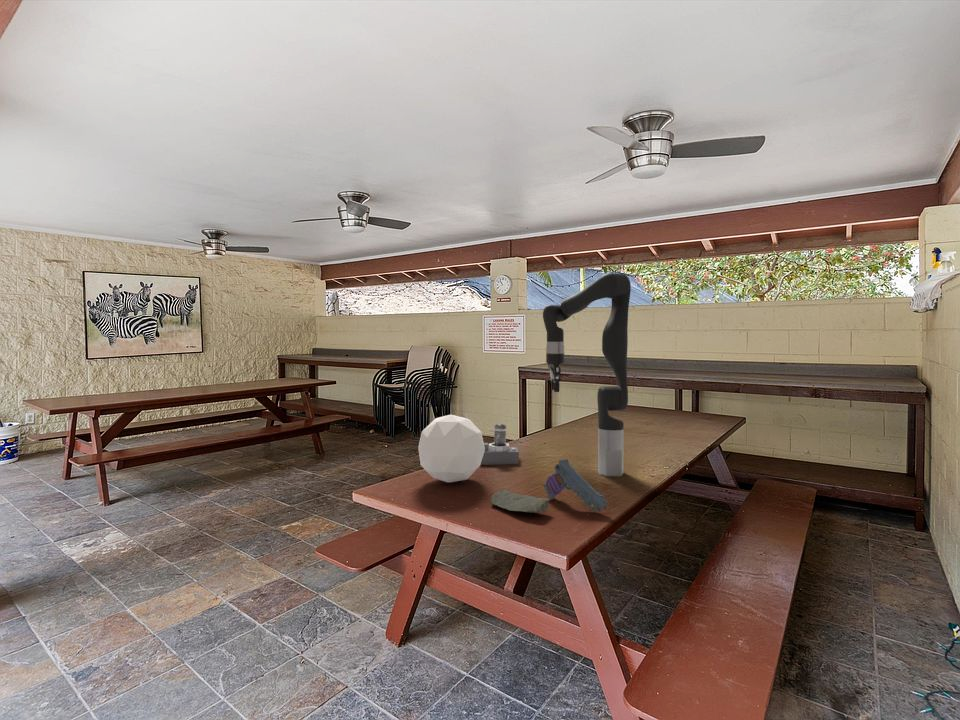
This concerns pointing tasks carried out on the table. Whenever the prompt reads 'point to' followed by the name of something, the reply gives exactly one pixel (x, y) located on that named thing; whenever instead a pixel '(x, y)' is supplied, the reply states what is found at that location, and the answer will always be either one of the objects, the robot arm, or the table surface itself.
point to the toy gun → (573, 486)
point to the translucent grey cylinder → (500, 435)
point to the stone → (519, 502)
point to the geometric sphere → (451, 448)
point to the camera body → (500, 455)
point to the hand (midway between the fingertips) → (555, 390)
